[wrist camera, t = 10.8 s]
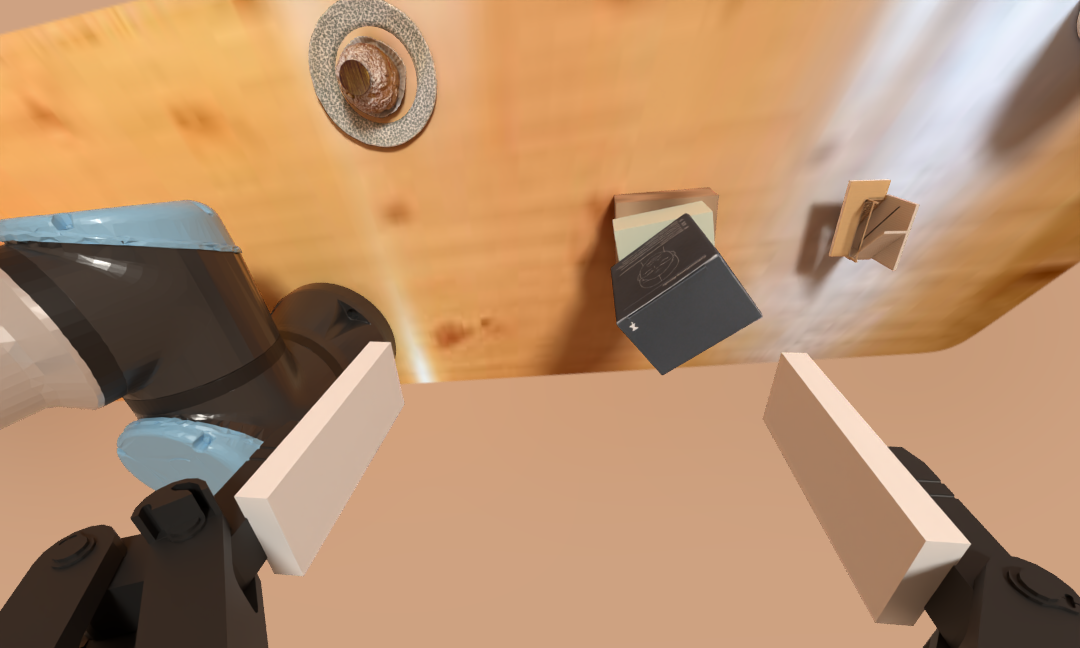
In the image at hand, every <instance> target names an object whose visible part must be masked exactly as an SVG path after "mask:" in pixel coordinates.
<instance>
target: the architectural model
mask: <svg viewBox="0 0 1080 648" xmlns="http://www.w3.org/2000/svg"><path fill="white" fill-rule="evenodd" d="M890 182H891V180H889V179H883V180H851V181H849V183H848V187H847V190H846V194H845V197H844V201H843V205H842V208H841V212H840V215H839V219H838V223H837V226H836V230H835V233H834V237H833V241H832V244H831V248H830V251H829V256H845V257H846V258H848V259H849V260H852V261H854V262H857V260H864V259H871V258H872V259H874V260H876V261H877V262H879V263H881V264H882V265H884V266H886V267H888V268H889V269H891V270H893V271H896V268H897V266H898V263H899V260H900V257H901V255H902V252H903V249H904V246H905V243H906V241H907V238H908V235H909V232H910V230H911V227H912V224H913V221H914V219H915V216H916V213H917V210H918V207H919V204H916V203H913V202H910V201H907V200H904V199H901V198H898V197H895V196H892V195H889V194H887V191H888V188H889V185H890Z"/></svg>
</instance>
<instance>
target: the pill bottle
mask: <svg viewBox="0 0 1080 648" xmlns="http://www.w3.org/2000/svg"><path fill="white" fill-rule="evenodd" d="M1077 31H1078V36H1079V38H1080V12H1079V16H1078V20H1077Z"/></svg>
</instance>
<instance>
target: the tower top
mask: <svg viewBox="0 0 1080 648" xmlns="http://www.w3.org/2000/svg"><path fill="white" fill-rule="evenodd" d="M685 213H687V214H689V215H690V216H691V217H692V219H693V220H694V221H695V223H696V224H697V225H698V226H699V228H700V229H701V230H702V231H703V233H704V234H705V235H706V237H707V238H708V239H709V241H710V242H711V243H712V244H713V245H714V247H715V241H714V225H713V211H712V210H711V209H710V208H709V207H708V206H707V205H706V204H705V203H704V202H703V201H698V202H693V203H688V204H684V205H679V206H674V207H669V208H665V209H660V210H655V211H650V212H645V213H641V214H636V215H631V216H626V217H622V218H617V219H612V220H613V228H614V235H615V241H616V246H617V252H618V258H619V261H621V260H622V259H623V258H625V257H626V256H627V255H629V254H630V253H631V252H633V251H634V250H635V249H637V248H638V247H639V246H641V245H642V244H644V243H645V242H646V241H648V240H649V239H650V238H652V237H653V236H654V235H656V234H657V233H658V232H660V231H661V230H662V229H664V228H665V227H667V226H668V225H669V224H671V223H672V222H673V221H675V220H676V219H677V218H679V217H680V216H682V215H683V214H685Z"/></svg>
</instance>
